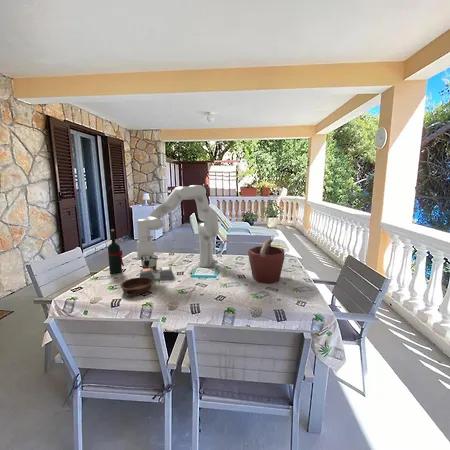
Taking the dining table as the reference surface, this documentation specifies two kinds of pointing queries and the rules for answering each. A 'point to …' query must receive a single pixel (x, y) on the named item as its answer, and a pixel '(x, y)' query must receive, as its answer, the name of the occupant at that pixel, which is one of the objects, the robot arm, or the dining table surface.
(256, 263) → the bucket
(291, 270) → the dining table surface
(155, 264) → the grey arched window
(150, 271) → the key terracotta
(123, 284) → the dish
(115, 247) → the wine bottle
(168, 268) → the key cream
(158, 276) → the key panel
